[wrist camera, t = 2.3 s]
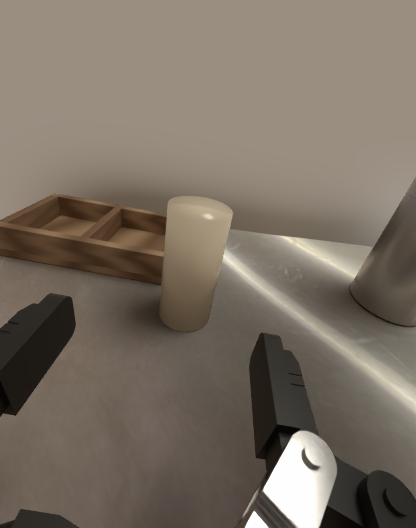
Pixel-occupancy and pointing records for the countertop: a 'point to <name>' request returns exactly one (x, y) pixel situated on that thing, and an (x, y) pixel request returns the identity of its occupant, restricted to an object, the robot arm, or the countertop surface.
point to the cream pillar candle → (192, 260)
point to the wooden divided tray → (88, 237)
